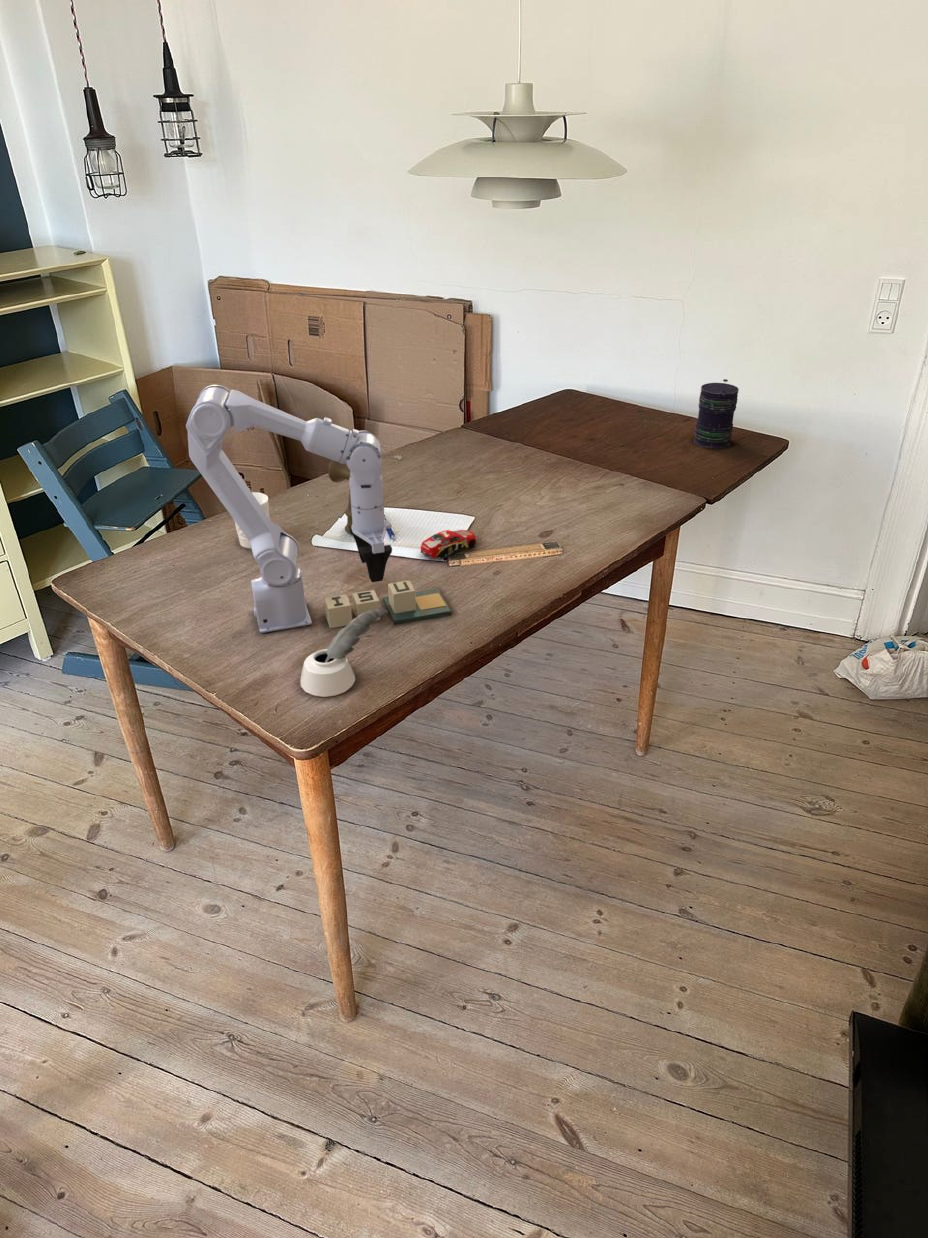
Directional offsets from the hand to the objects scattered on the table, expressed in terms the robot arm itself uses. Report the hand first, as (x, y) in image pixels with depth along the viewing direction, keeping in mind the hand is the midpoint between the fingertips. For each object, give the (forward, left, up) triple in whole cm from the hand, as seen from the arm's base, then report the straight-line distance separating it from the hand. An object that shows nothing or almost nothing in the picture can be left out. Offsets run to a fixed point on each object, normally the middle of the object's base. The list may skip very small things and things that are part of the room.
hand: (371, 571), depth 162 cm
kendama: (+4, +35, -9) cm, 37 cm away
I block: (-7, -1, -9) cm, 11 cm away
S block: (-2, -1, -9) cm, 9 cm away
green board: (+8, -1, -9) cm, 12 cm away
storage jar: (+108, +58, -9) cm, 123 cm away
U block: (+5, -1, -8) cm, 10 cm away
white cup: (-18, +37, -9) cm, 43 cm away
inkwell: (-8, -17, -9) cm, 21 cm away
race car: (+21, +20, -9) cm, 31 cm away
